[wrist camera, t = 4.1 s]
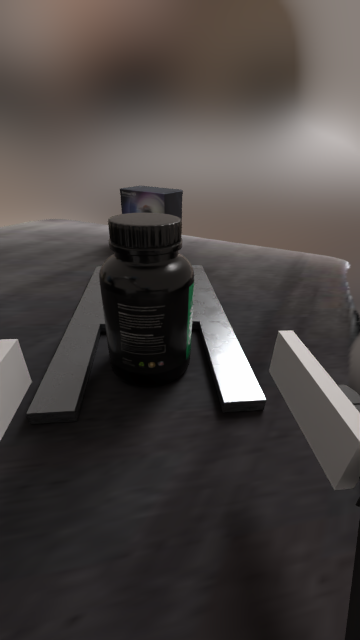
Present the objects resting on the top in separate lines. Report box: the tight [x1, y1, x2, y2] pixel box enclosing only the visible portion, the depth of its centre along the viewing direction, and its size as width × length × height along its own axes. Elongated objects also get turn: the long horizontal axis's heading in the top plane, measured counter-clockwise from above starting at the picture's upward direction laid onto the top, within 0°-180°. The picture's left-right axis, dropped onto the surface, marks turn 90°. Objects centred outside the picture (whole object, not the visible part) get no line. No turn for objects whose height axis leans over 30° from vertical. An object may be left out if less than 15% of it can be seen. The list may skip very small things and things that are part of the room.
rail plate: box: [26, 265, 266, 424], centre depth 31 cm, size 28×16×1 cm, turn 5°
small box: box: [120, 186, 183, 221], centre depth 54 cm, size 11×6×10 cm, turn 57°
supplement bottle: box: [99, 213, 194, 387], centre depth 21 cm, size 7×7×12 cm
